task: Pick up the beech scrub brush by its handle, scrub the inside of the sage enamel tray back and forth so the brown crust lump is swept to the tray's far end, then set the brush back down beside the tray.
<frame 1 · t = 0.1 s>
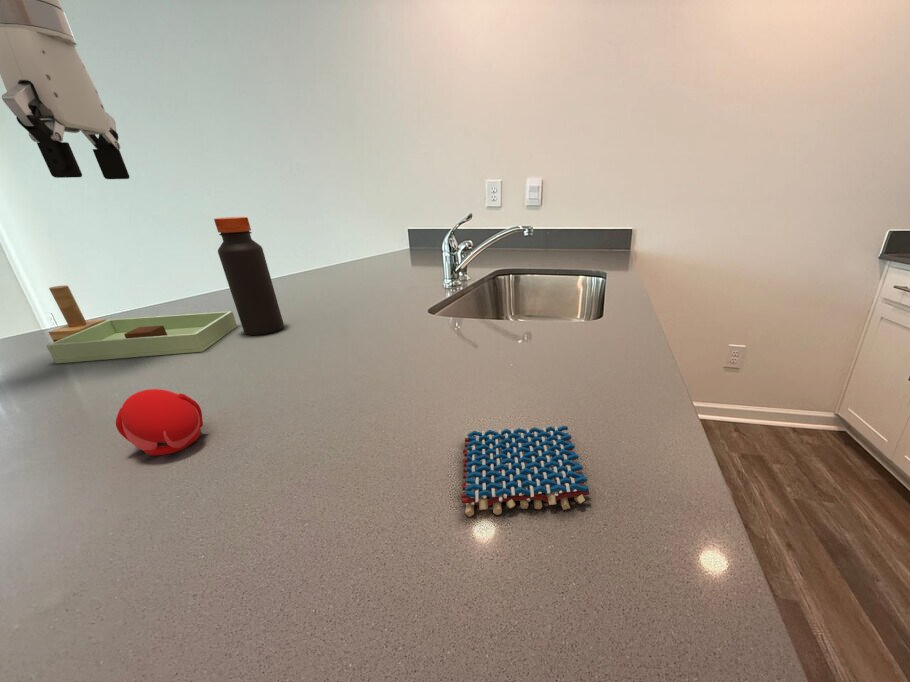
hand: (94, 178, 58), 26 cm above the countertop, tool pointing down, fingers open, 9 cm apart
cap: (174, 444, 43), on the countertop
woven mat: (520, 474, 37), on the countertop
brush: (85, 339, 76), on the countertop
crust: (148, 340, 72), point 1 cm above the countertop, touching tray
tray: (156, 343, 73), on the countertop
bottle: (265, 331, 78), on the countertop
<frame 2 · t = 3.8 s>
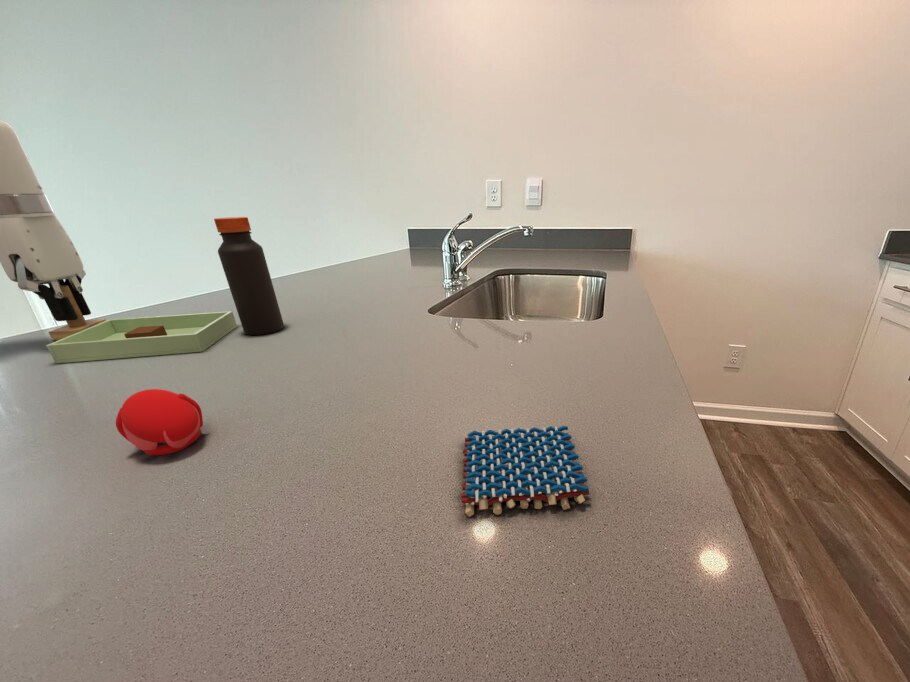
hand: (73, 316, 74), 4 cm above the countertop, tool pointing down, fingers closed on brush, 2 cm apart
brush: (85, 339, 76), on the countertop, touching gripper
everything else where it was.
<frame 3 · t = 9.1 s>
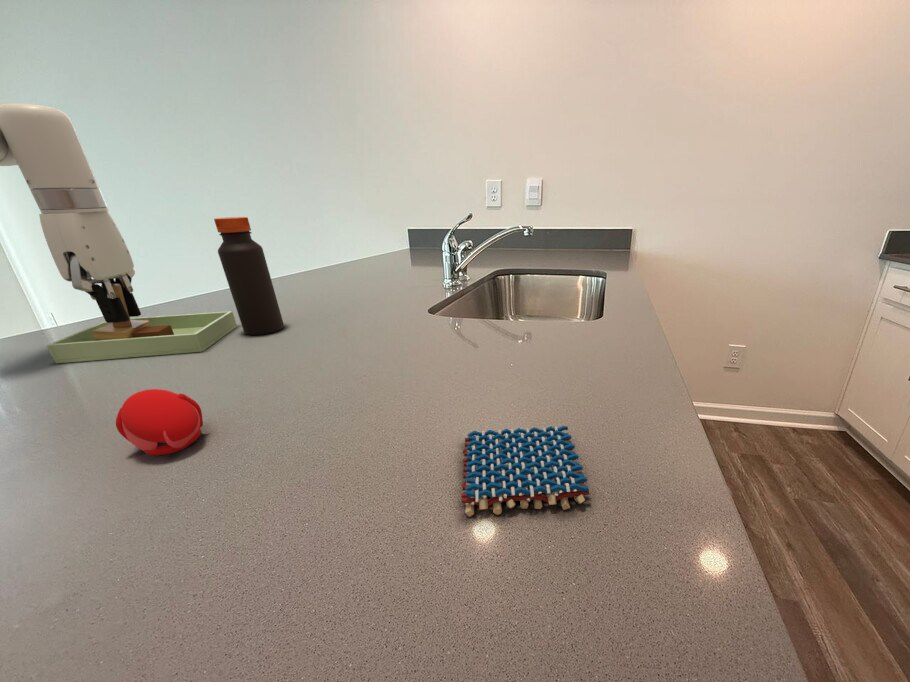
hand: (124, 318, 70), 5 cm above the countertop, tool pointing down, fingers closed on brush, 2 cm apart
brush: (126, 340, 72), point 1 cm above the countertop, tilted 8°, touching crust, gripper, tray
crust: (156, 339, 72), point 1 cm above the countertop, touching brush, tray
everything else where it was.
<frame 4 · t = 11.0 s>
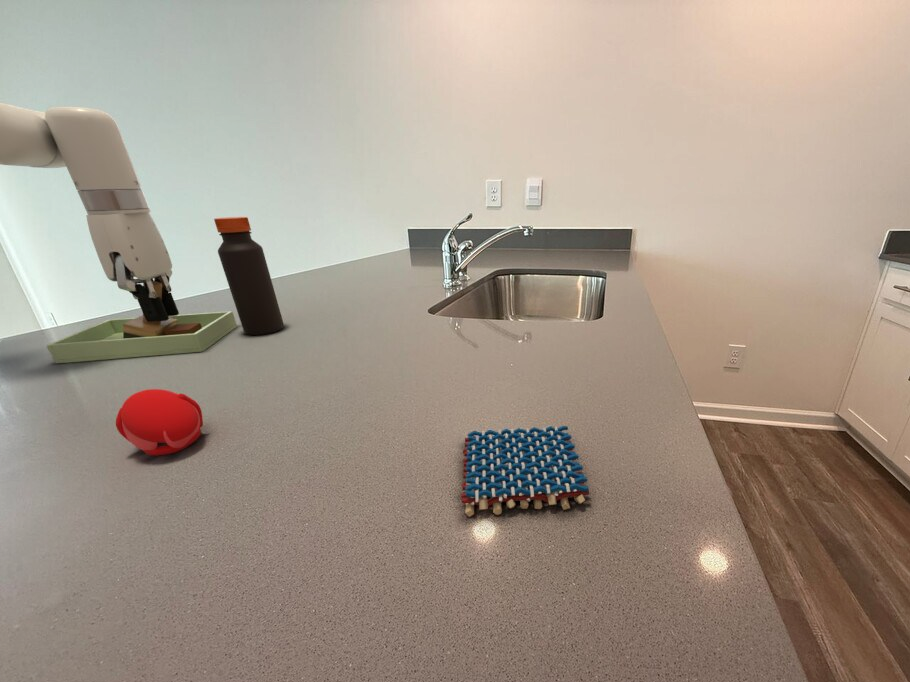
hand: (163, 317, 71), 5 cm above the countertop, tool pointing down, fingers closed on brush, 2 cm apart
brush: (151, 335, 72), point 1 cm above the countertop, tilted 21°, touching gripper
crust: (186, 337, 73), point 1 cm above the countertop, touching tray
everything else where it was.
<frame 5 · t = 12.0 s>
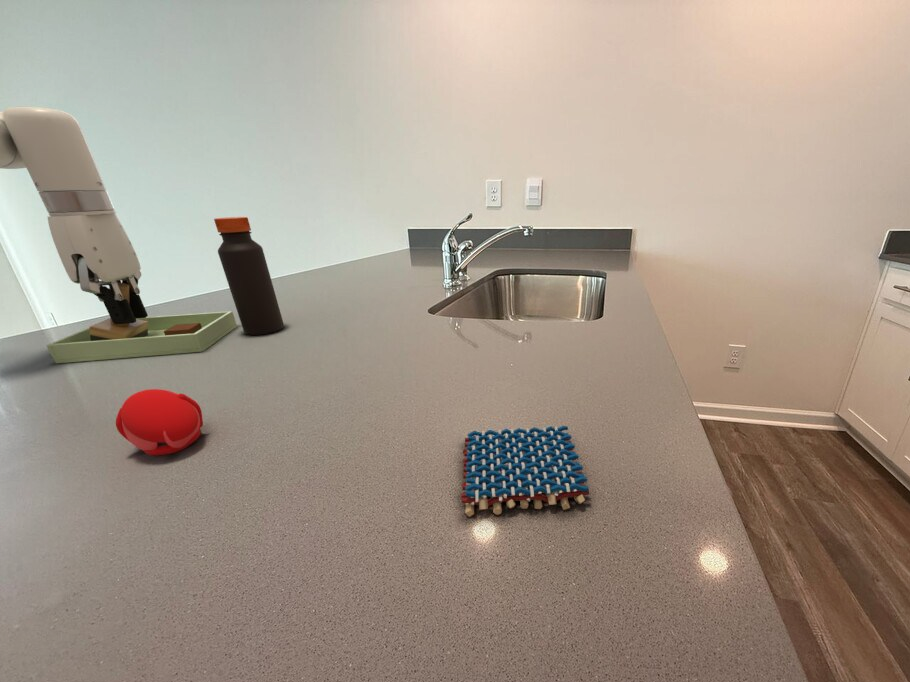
hand: (131, 319, 70), 4 cm above the countertop, tool pointing down, fingers closed on brush, 2 cm apart
brush: (120, 338, 71), point 1 cm above the countertop, tilted 20°, touching gripper
everything else where it was.
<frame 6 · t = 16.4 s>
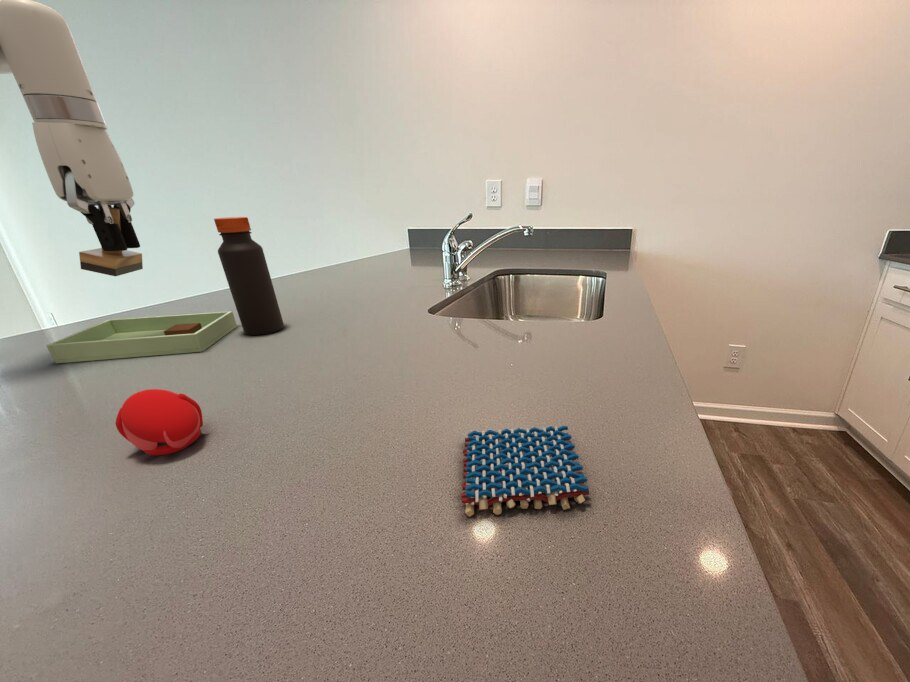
hand: (122, 248, 66), 16 cm above the countertop, tool pointing down, fingers closed on brush, 2 cm apart
brush: (113, 269, 67), point 13 cm above the countertop, tilted 18°, touching gripper
everything else where it was.
when the fingers open (4 cm above the countertop, at t = 20.5 s): brush stays where it is, on the countertop.
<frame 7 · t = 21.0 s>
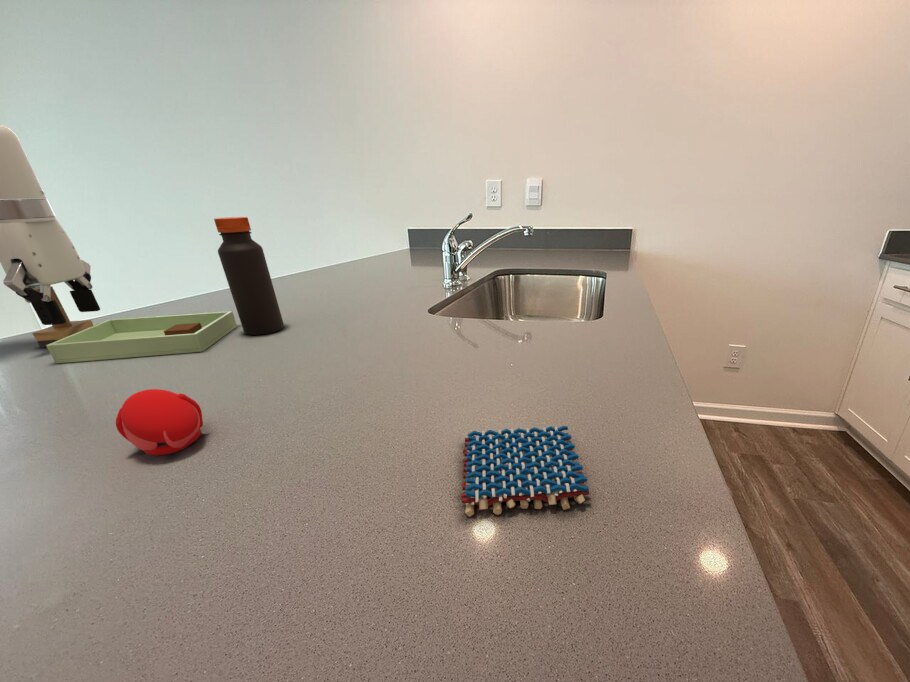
hand: (73, 316, 74), 4 cm above the countertop, tool pointing down, fingers open, 7 cm apart
brush: (70, 340, 75), on the countertop
everything else where it was.
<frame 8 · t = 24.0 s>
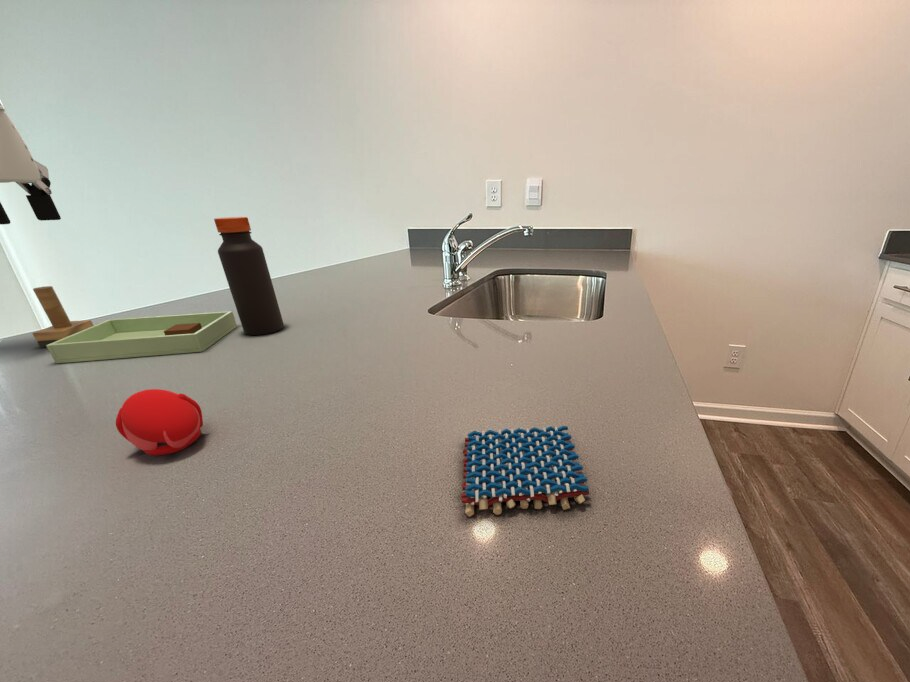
hand: (25, 222, 67), 20 cm above the countertop, tool pointing down, fingers open, 9 cm apart
nothing on the countertop moved.
at the end: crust inside the target area in the tray (1.5 cm from its centre), point 0.6 cm above the tray's base; brush inside the target area (2.4 cm from its centre), on the countertop; brush tilted 0° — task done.
